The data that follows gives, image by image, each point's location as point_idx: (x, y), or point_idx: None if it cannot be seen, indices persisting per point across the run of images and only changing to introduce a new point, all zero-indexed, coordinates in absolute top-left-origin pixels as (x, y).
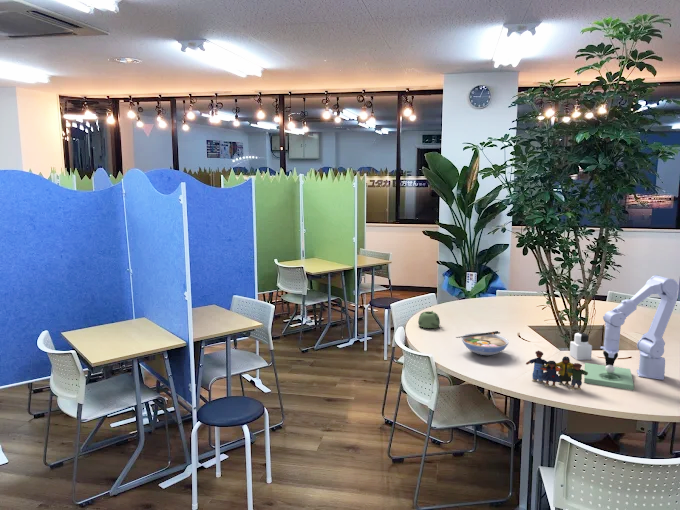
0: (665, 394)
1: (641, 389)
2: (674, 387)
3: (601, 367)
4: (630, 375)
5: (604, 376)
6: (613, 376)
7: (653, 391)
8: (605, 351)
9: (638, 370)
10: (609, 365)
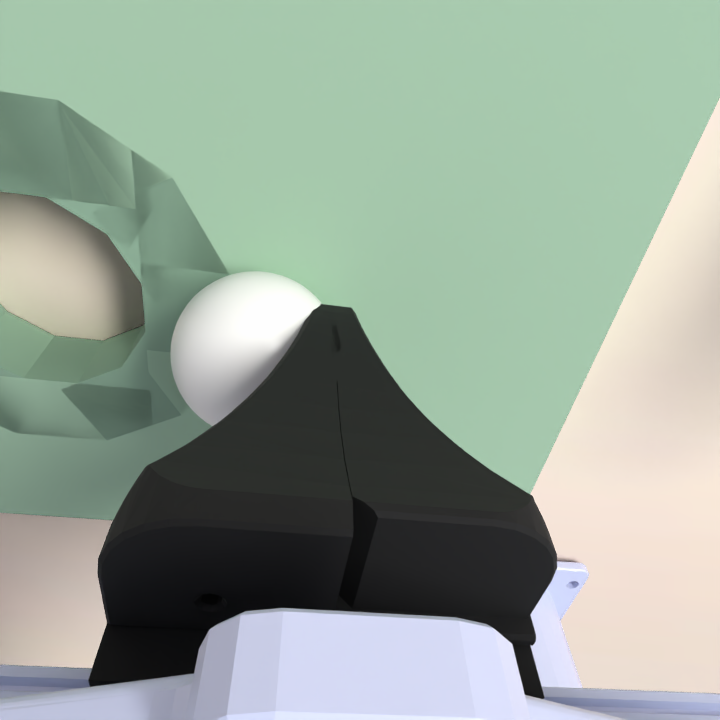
0: (5, 633)
1: (2, 518)
2: None
3: (512, 222)
4: None
5: (67, 197)
6: (139, 336)
7: (19, 583)
8: (497, 574)
9: (558, 577)
10: (217, 388)
